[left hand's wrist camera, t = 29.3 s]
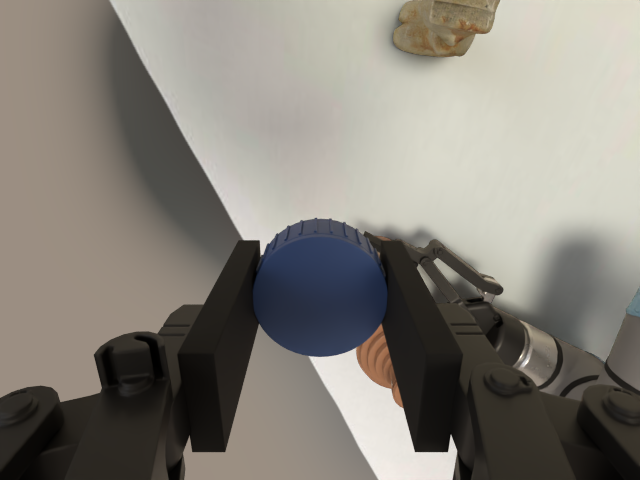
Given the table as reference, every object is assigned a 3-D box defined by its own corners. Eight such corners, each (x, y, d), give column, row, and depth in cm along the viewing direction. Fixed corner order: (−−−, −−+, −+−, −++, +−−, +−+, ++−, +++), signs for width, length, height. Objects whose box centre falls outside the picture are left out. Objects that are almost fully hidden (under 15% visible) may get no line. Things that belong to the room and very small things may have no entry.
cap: (247, 312, 15) (237, 341, 13) (274, 202, 13) (267, 218, 12) (360, 339, 15) (365, 370, 14) (398, 235, 14) (410, 256, 12)
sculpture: (403, -7, 41) (446, -58, 27) (467, 13, 42) (542, -26, 28) (385, 52, 43) (417, 34, 29) (447, 71, 44) (507, 62, 30)
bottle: (367, 224, 50) (404, 331, 28) (416, 255, 52) (490, 380, 29) (332, 272, 53) (342, 406, 30) (381, 300, 54) (424, 448, 32)
